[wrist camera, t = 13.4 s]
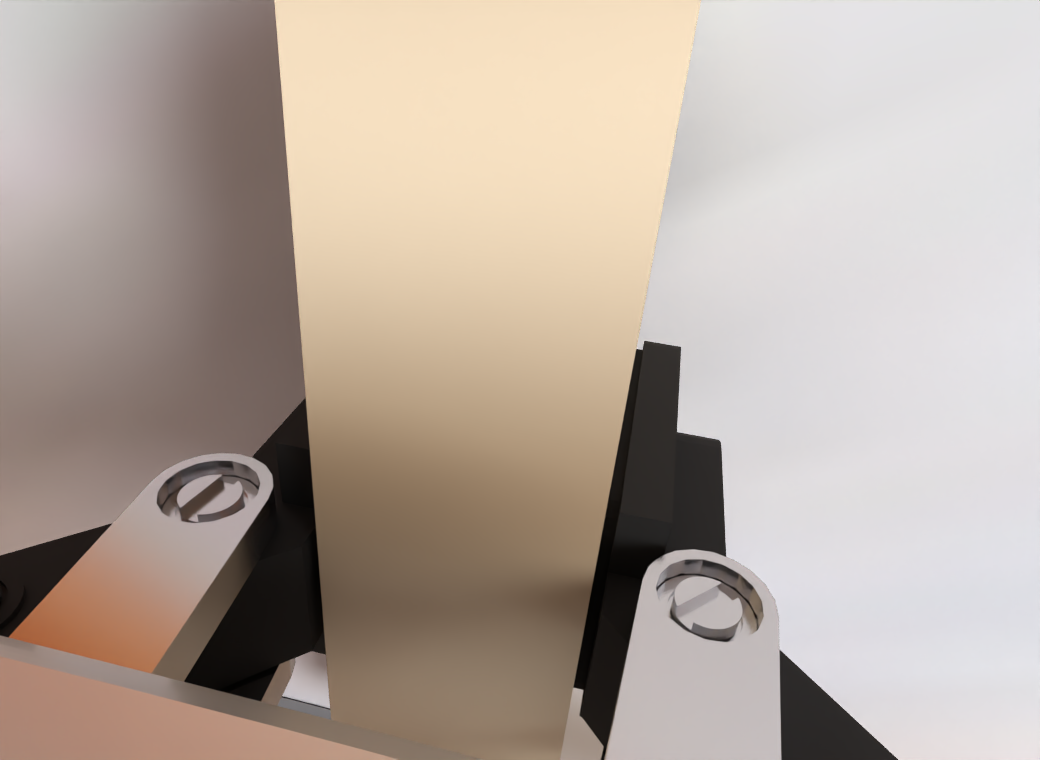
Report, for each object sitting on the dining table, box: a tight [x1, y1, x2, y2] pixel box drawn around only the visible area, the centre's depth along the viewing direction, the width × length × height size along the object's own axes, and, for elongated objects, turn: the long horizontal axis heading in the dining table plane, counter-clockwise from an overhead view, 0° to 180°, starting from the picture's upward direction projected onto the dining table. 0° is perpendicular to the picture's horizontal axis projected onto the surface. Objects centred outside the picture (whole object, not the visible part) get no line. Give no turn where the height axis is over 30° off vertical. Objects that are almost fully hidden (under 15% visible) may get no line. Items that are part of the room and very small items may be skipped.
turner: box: [274, 0, 701, 760], centre depth 10 cm, size 17×7×5 cm, turn 175°
